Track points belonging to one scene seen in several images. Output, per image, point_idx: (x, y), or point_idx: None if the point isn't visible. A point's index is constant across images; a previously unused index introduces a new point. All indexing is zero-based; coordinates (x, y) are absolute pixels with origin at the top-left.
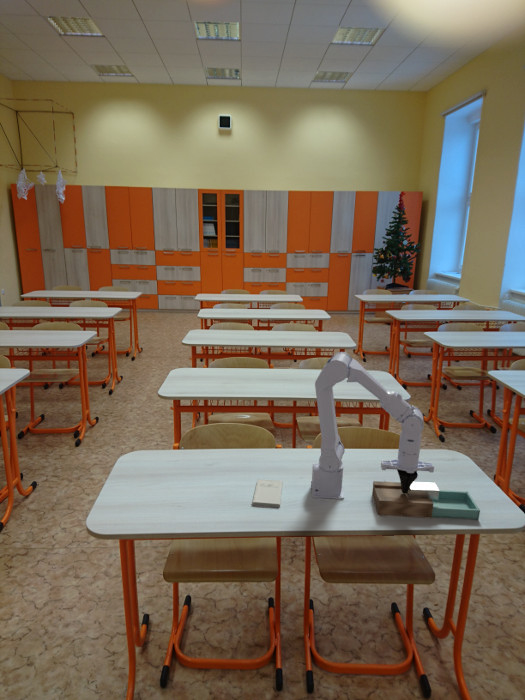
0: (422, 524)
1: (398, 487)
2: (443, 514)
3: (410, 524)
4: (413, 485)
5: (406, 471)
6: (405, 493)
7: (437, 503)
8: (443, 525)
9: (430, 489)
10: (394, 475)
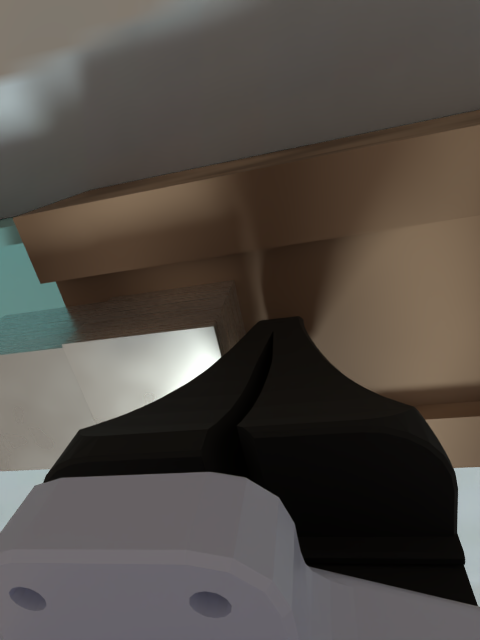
0: (148, 75)
1: None
2: (1, 221)
3: (244, 38)
4: None
5: (297, 540)
6: (275, 319)
7: None
8: (3, 116)
9: (14, 364)
10: None
